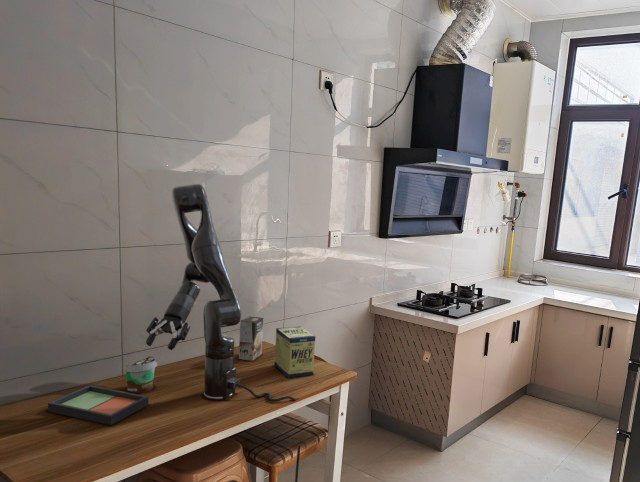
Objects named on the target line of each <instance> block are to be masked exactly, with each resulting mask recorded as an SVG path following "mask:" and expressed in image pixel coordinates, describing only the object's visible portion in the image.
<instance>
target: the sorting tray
mask: <svg viewBox="0 0 640 482" xmlns="http://www.w3.org/2000/svg"><path fill="white" fill-rule="evenodd" d="M147 406H149V396H147V395H142V394H138V393H128V391H122V390H117V389H113V388H107V387H104V386H103V387H101V386H97V385H91V384H88V385H86V386H84V387H82V388H79V389H77V390H75V391H73V392H70V393H68V394H66V395H63V396H60V397H59V398H56V399H54V400H51V401H49V402H48V403H47V410H48V413H53V414H56V415H57V414H58V415H61V416H62V415H63V416H66V417H70V418H71V417H72V418H76V419H79V420H84V421H90V422H95V423H99V424H102V425H103V424H104V425H107V426H108V425H109V426H112V425H114V424H116V423H118V422H120V421H121V420H123V419H125V418H127V417H129V416H131V415H132V414H135V413H136V412H138V411H140V410H142V409H143V408H145V407H147Z"/></svg>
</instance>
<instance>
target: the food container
mask: <svg viewBox="0 0 640 482" xmlns="http://www.w3.org/2000/svg"><path fill="white" fill-rule="evenodd" d="M157 366H158V362H157V359H156V357H155V356H154V355H151V354H147V357H146V358H144V359H140V360H137V361H136V362H134V363H133V364H131V365H130V364H125V367H124V372H125V374H126V388H127V393H132V394H142V393H146V392H150V391H151V390H153V388H154V381H155V380H154V379H155V369H156V367H157Z"/></svg>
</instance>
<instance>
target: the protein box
mask: <svg viewBox="0 0 640 482" xmlns="http://www.w3.org/2000/svg"><path fill="white" fill-rule="evenodd" d="M315 349H316V336H315V335H314V334H312V333H311V332H309V331H308V330H307V329H305V328H303V327H302V326H288V327H276V329H275V346H274V362H273V363H274V366H275V367H276V368H277V369H278V370H279V371H280V372H281V373H283V375H285V377H287V378H288V379H289V378H295V377H296V378H297V377H305V376H313V375H314V365H315V353H316V352H315V351H316V350H315Z"/></svg>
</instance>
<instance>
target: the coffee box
mask: <svg viewBox="0 0 640 482" xmlns="http://www.w3.org/2000/svg"><path fill="white" fill-rule="evenodd" d="M263 332H264V317H259V316H251V315H250V316H247V317H245V318H243V319H241V320H240V322H239V341H238V342H239V346H238V359H239V360H246V361H251V362H252V361H255V360H256V359H257V358H259V357H260V356H261V355H262V353H263V351H262V349H263Z"/></svg>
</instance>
